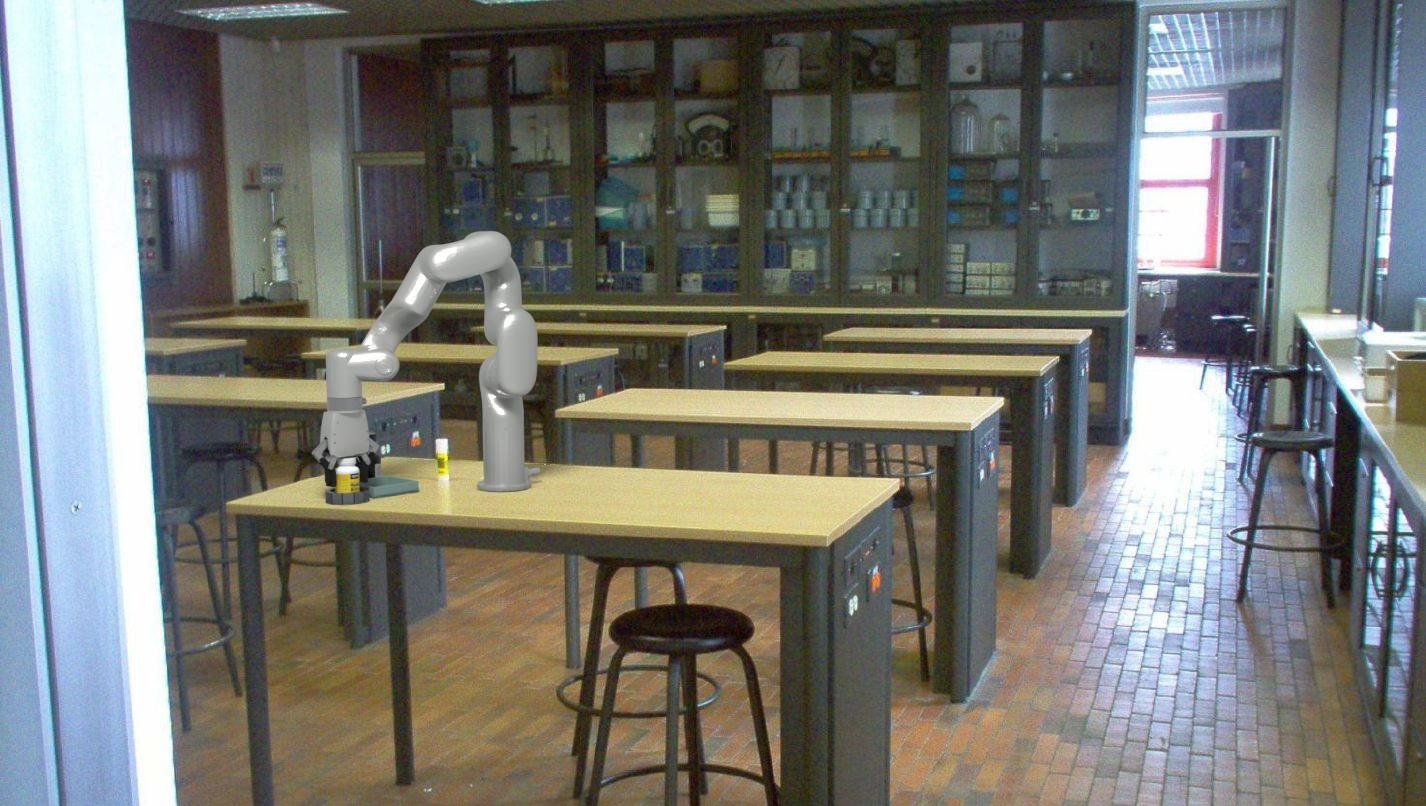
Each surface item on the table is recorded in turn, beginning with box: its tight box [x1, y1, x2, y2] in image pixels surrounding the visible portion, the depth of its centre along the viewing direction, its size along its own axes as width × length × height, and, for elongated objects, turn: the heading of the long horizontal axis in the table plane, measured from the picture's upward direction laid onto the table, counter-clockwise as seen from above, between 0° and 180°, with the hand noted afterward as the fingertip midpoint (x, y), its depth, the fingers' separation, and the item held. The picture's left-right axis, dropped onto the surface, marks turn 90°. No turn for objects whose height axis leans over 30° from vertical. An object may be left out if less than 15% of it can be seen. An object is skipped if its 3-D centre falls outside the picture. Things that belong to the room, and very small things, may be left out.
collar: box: [324, 486, 371, 506], centre depth 293 cm, size 9×9×2 cm
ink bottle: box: [353, 431, 383, 478], centre depth 316 cm, size 10×9×12 cm
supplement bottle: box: [334, 456, 360, 493], centre depth 293 cm, size 5×5×10 cm
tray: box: [360, 475, 420, 500], centre depth 305 cm, size 12×12×2 cm
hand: (347, 483), depth 293 cm, fingers open, 7 cm apart
